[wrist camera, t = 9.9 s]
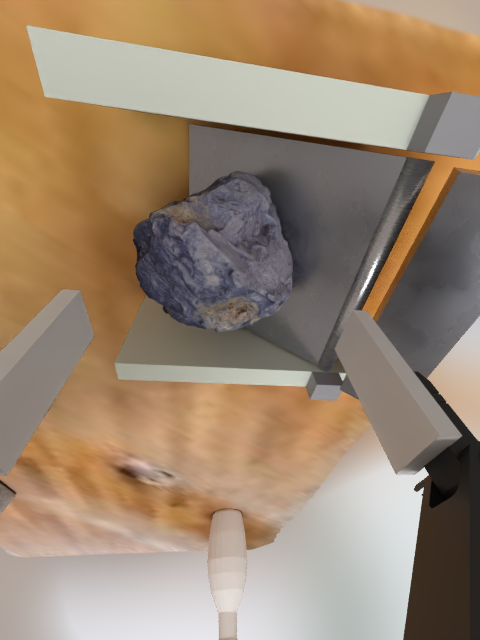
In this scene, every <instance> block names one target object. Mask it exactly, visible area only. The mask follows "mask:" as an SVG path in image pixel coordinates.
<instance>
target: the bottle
mask: <svg viewBox="0 0 480 640" xmlns="http://www.w3.org/2000/svg"><path fill="white" fill-rule="evenodd" d="M246 573H247V552H246V540H245V532H244V526H243V520H242V514H241V512H240V511H238V510H235V509H222V510H218V511H216V512H215V513H214V514H213V517H212V523H211V530H210V536H209V549H208V576H209V582H210V588H211V593H212V596H213V599H214V601H215V604H216V607H217V610H218V612H219V640H237V610H238V607H239V604H240V601H241V598H242V595H243V592H244V586H245V581H246Z"/></svg>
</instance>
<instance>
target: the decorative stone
mask: <svg viewBox="0 0 480 640" xmlns="http://www.w3.org/2000/svg"><path fill="white" fill-rule="evenodd" d="M14 497H15V494H14V493H13V492H12V491H10V490H9V489H8V488H7V487H5V486H4V485H2V484H1V483H0V515H1V513H2V512H3V511H4V509H5V508H6V507H7V506H8V505H9V504H10V502H11V501H12V500H13V499H14Z"/></svg>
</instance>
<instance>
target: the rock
mask: <svg viewBox="0 0 480 640" xmlns="http://www.w3.org/2000/svg"><path fill="white" fill-rule="evenodd" d="M133 241H134V245H135V246H136V249H137V263H136V266H135V267H136V276H137V278H138V281H139V282H140V286H141V288H142V289H143V290H144V292H145V293H146V295H147V296H148V298H150V299H153V300H155V301H156V302H157V303H159V304H161V305H163V311H164V312H165V313H166V314H169V315H170V316H171V318H173V319H175V320H176V321H178V322H179V323H183V324H185V325H186V326H195V327H198V328H202V329H215V331H216V332H218V333H220V332H225V331H234V330H236V329H238V328H241V327H245V326H252V324H253V323H254V322H256V321H258V320H260V319H261V318H262V317H267V316H272V315H273V314H275V313H277V312H278V311H279V309H280V308H281V307H282V305H283V304H284V303H285V301H286V300H287V298H288V297H289V295H290V293H291V289H292V271H293V262H292V255H291V252H290V249H289V247H288V242H287V241H285V240H284V238H283V235H282V233H281V226H280V220H279V218H278V215H277V213H276V206H275V205H274V204H273V203H272V201H271V198H270V191H269V190H268V188H267V187H265V186H263V185H262V183H261V182H260V180H258V179H257V178H256V177H254V176H253V175H251V174H249V173H247V172H240V171H235V172H232V173H230V174H229V175H228V176H222V177H220V178H218V179H217V180H215V181H214V182H213V183H212V184H211V185H210V186H209V187H207V188H206V189H205V190H202V191H200V192H197V193H194V194H191V195H190V196H188V197H187V198H184V200H183V201H173V202H171V203H169V204H168V205H166V206H165V207H163V208H162V209H160V210H157V211H155V212H152V213H150V216H149V219H146V220H143V221H141V222H140V223H139V224H137V225H136V227H135V229H134V239H133Z"/></svg>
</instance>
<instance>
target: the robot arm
mask: <svg viewBox="0 0 480 640" xmlns="http://www.w3.org/2000/svg"><path fill="white" fill-rule="evenodd" d="M93 337H94V334H93V331H92V327H91V324H90V321H89V317H88V314H87V311H86V307H85V304H84V301H83V297H82V294H81V291H80V290H69V289H62V290H61V291H60V292H59V293H58V294H57V295H56V296H55V297H54V298H53V299H52V300H51V301H50V302H49V303H48V304H47V305H46V306H45V307H44V308H43V309H42V310H41V311H40V312H39V313H38V314H37V315H36V316H35V317H34V318H33V319H32V320H31V321H30V322H29V323H28V324H27V325H26V326H25V327H24V328H23V329H22V330H21V331H20V332H19V333H18V334H17V335H16V336H15V337H14V338H13V339H12V340H11V341H10V342H9V343H8V344H7V345H6V346H5V347H4V348H3V349H2V350H1V351H0V475H8V474H9V472H10V471H11V469H12V468H13V466H14V464H15V463H16V461H17V460H18V458H19V456H20V455H21V453H22V451H23V450H24V448H25V447H26V445H27V443H28V442H29V440H30V439H31V437H32V435H33V434H34V432H35V431H36V429H37V427H38V426H39V424H40V422H41V421H42V419H43V418H44V417H45V415H46V413H47V412H48V410H49V409H50V407H51V405H52V403H53V402H54V400H55V398H56V397H57V395H58V393H59V392H60V390H61V389H62V387H63V385H64V384H65V382H66V381H67V379H68V377H69V376H70V374H71V373H72V371H73V369H74V368H75V366H76V364H77V363H78V361H79V360H80V358H81V356H82V355H83V353H84V352H85V350H86V348H87V347H88V345H89V344H90V342H91V340H92V339H93ZM335 351H336V353H337V355H338V357H339V359H340V361H341V363H342V365H343V367H344V369H345V371H346V374H347V376H348V378H349V380H350V382H351V384H352V386H353V388H354V390H355V392H356V394H357V396H358V398H359V400H360V402H361V404H362V406H363V408H364V410H365V412H366V414H367V416H368V418H369V420H370V422H371V424H372V427H373V429H374V431H375V433H376V435H377V437H378V438H379V441H380V443H381V445H382V447H383V449H384V451H385V453H386V455H387V457H388V459H389V461H390V463H391V465H392V467H393V469H394V471H395V473H396V475H397V474H398V475H399V474H416V473H418V472H419V471H420V470H421V469H422V468H424V467H425V469H426V470H427V472H428V473H429V476H427V477H426V478H425V479H424V480H422V481H421V482H420V483H418V484H417V485H416V486H415V488H414V490H415V491H416V492H417V491H419V490H420V489H421V488H423V487H424V491H423V494H422V496H423V499H422V506H421V513H420V521H419V528H418V536H417V543H416V550H415V558H414V565H413V573H412V580H411V587H410V594H409V602H408V609H407V617H406V624H405V631H404V639H403V640H480V441H478V440H477V439H476V438H475V437H474V436H473V434H472V433H471V432H470V431H469V430H468V428H467V427H466V426H465V424H464V423H463V422H462V421H461V419H460V418H459V417H458V416H457V415H456V413H455V412H454V411H453V410H452V408H451V407H450V406H449V404H446V401H445V400H444V398H443V397H442V396H441V395H440V394H438V393H439V392H438V391H437V389H436V388H435V387H434V386H433V384H432V383H431V382H430V381H429V380H427V378H425V377H424V376H423V375H422V374H420V373H419V372H417V371H412V369H411V368H410V367H409V365H408V364H407V363H406V361H405V360H404V359H403V358H402V356H401V355H400V354H399V352H398V351H397V350H396V348H395V347H394V346H393V344H392V343H391V342H390V341H389V339H388V338H387V337H386V335H385V334H384V333H383V331H382V330H381V329H380V327H379V326H378V325H377V324H376V322H375V321H374V320H373V318H372V317H371V316H370V314H369V313H368V312H367V311H361V310H352V312H351V315H350V317H349V319H348V321H347V323H346V325H345V328H344V330H343V332H342V334H341V336H340V338H339V340H338V343H337V345H336V347H335Z"/></svg>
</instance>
